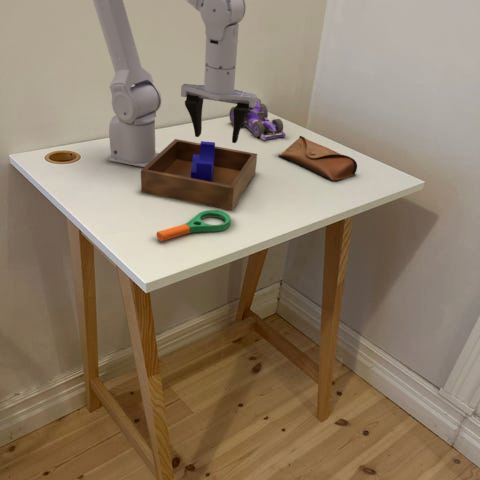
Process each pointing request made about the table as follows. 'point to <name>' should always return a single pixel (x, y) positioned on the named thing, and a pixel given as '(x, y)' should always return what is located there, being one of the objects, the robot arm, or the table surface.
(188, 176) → the crate
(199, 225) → the magnifying glass
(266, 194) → the table surface
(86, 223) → the table surface
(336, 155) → the sunglasses case
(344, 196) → the table surface
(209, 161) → the cable clip
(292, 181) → the table surface
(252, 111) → the toy race car
